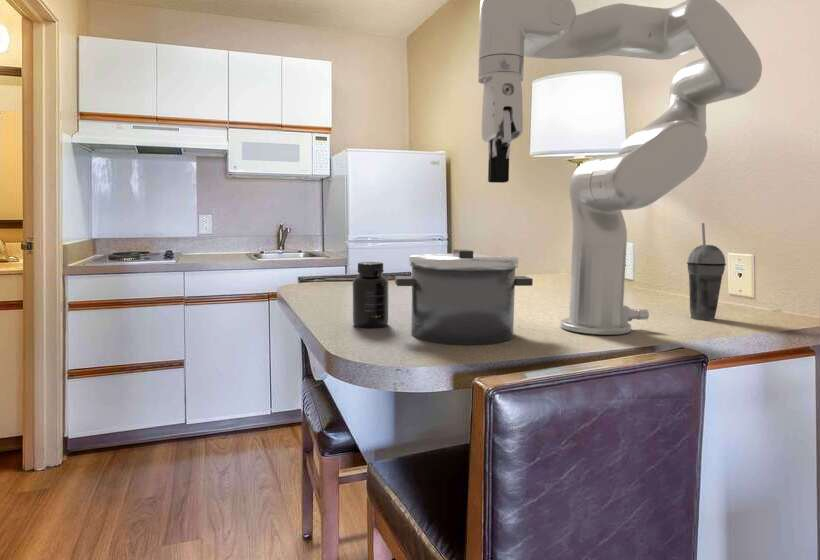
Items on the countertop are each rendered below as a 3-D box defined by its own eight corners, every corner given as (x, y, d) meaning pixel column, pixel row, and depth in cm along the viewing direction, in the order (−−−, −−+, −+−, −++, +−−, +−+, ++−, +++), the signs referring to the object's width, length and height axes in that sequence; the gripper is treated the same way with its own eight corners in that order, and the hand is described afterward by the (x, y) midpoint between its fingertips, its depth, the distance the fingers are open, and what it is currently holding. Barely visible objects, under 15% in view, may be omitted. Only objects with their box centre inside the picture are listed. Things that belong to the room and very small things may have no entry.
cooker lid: (501, 261, 108) (502, 247, 108) (532, 270, 89) (533, 253, 89) (404, 261, 106) (404, 247, 106) (415, 270, 87) (415, 253, 87)
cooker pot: (512, 323, 109) (514, 262, 108) (543, 344, 91) (545, 271, 90) (392, 324, 107) (392, 262, 105) (399, 346, 89) (400, 271, 87)
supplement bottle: (348, 323, 108) (347, 261, 107) (381, 321, 111) (381, 261, 109) (359, 329, 102) (359, 264, 100) (393, 327, 104) (394, 263, 103)
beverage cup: (729, 321, 113) (736, 223, 111) (693, 321, 113) (700, 223, 111) (710, 315, 121) (717, 223, 118) (677, 315, 121) (682, 222, 118)
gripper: (536, 60, 86) (533, 179, 88) (510, 83, 101) (507, 185, 103) (489, 58, 86) (487, 178, 88) (469, 82, 101) (468, 184, 103)
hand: (498, 181), depth 96 cm, fingers closed
